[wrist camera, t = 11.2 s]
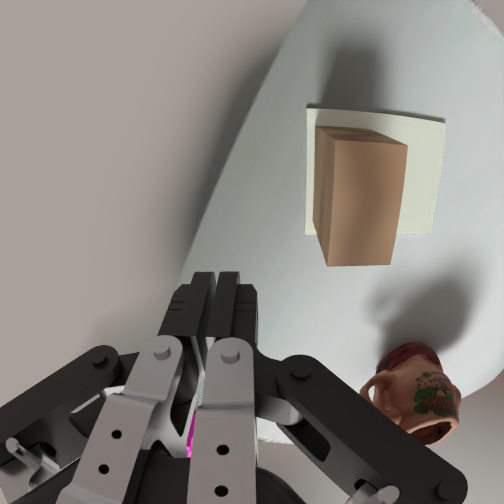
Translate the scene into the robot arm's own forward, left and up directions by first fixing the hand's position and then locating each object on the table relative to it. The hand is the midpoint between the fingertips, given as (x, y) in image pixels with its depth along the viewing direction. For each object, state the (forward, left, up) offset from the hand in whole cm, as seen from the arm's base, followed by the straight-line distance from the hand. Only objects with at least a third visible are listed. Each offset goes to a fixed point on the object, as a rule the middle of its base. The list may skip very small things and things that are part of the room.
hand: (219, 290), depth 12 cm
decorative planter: (-21, +27, -17) cm, 39 cm away
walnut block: (-9, 0, -17) cm, 19 cm away
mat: (-13, 0, -17) cm, 21 cm away
